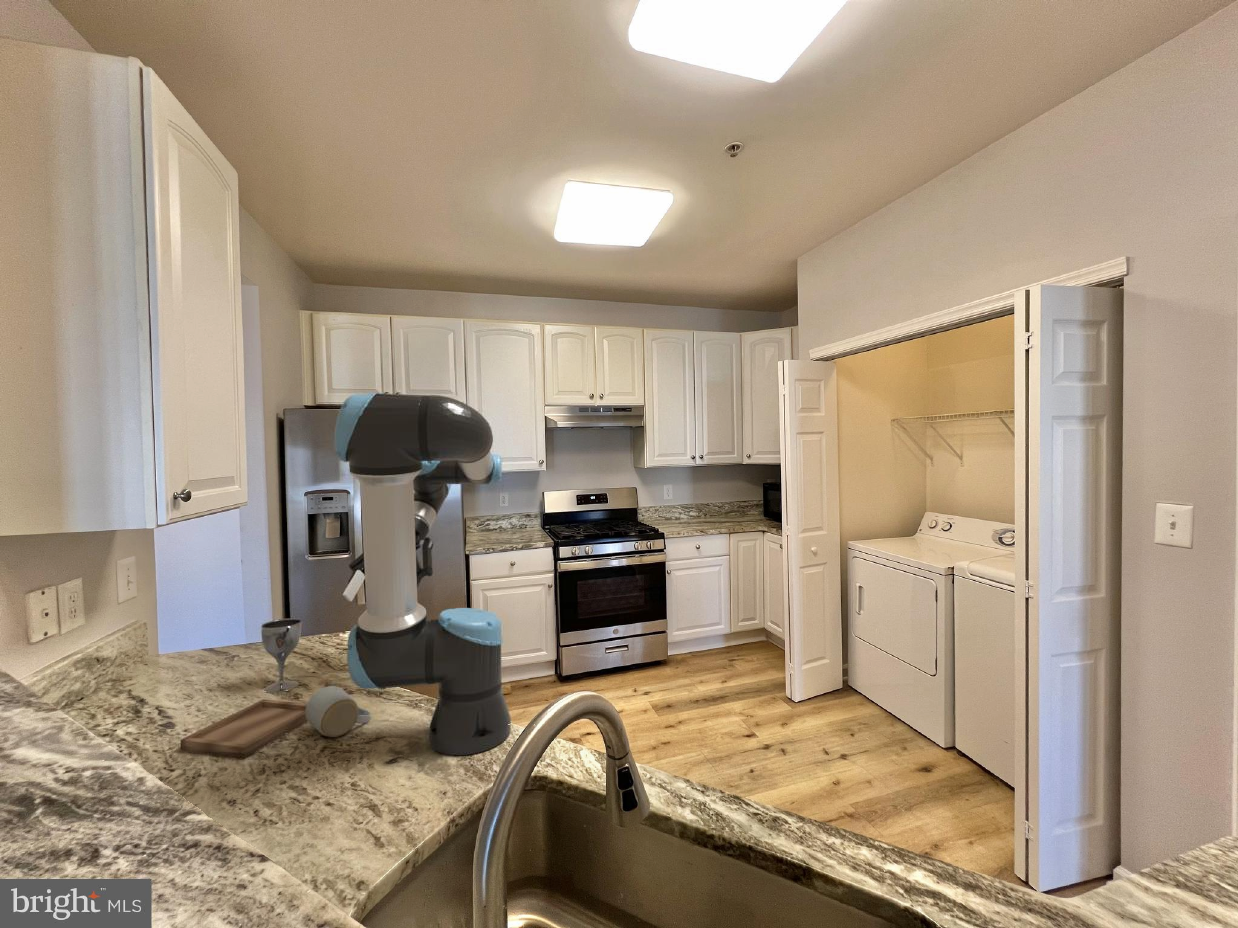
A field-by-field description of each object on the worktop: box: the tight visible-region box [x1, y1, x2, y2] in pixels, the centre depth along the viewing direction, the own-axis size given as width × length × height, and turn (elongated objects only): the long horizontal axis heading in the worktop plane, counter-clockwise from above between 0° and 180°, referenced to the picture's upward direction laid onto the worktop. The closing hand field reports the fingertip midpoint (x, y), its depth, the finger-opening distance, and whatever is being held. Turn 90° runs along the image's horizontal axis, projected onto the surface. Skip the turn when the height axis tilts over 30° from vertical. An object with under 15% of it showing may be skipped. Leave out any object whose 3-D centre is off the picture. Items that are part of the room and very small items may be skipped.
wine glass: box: [260, 617, 302, 694], centre depth 121 cm, size 8×8×15 cm
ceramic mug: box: [305, 685, 372, 738], centre depth 101 cm, size 11×8×8 cm
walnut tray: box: [180, 699, 309, 760], centre depth 99 cm, size 14×17×2 cm
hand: (374, 599), depth 112 cm, fingers open, 13 cm apart
